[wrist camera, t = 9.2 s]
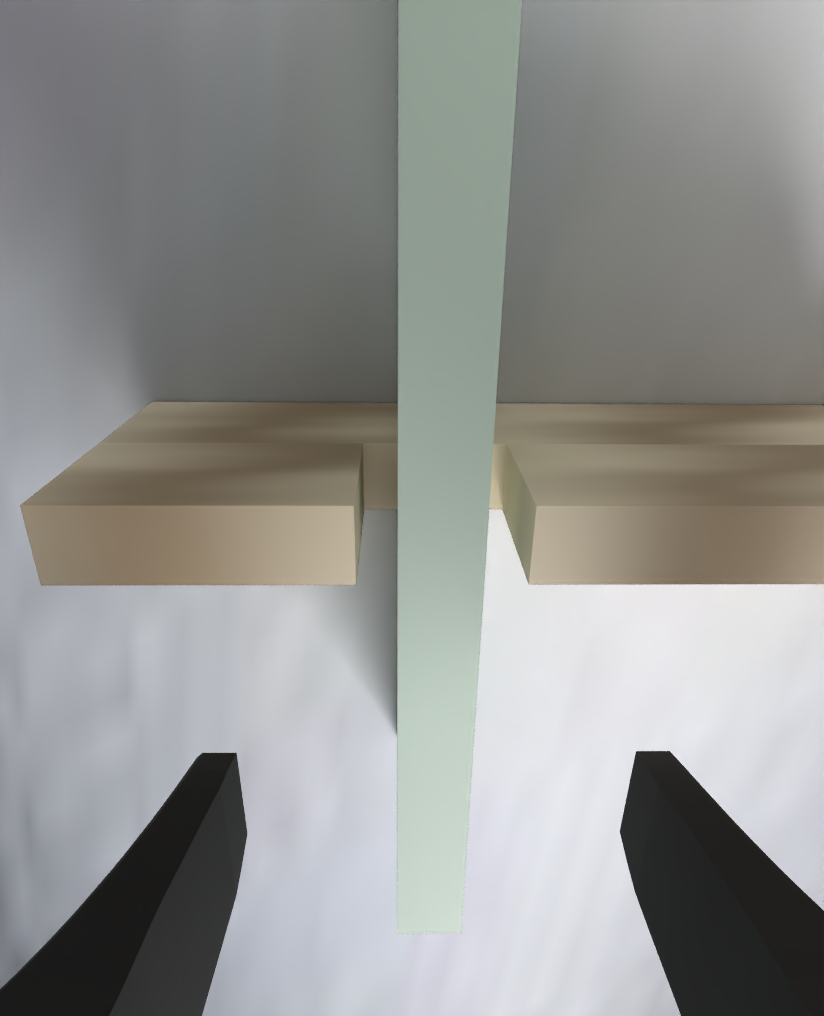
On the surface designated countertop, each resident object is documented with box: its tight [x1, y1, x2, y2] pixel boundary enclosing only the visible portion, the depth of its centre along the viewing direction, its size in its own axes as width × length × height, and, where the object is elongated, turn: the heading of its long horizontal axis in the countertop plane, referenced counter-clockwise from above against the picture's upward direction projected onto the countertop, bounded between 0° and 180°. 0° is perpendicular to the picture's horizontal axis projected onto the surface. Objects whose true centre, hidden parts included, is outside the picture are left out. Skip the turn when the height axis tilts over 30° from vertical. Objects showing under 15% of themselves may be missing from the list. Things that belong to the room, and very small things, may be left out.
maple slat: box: [20, 402, 824, 585], centre depth 11 cm, size 20×1×5 cm, turn 89°
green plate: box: [397, 0, 522, 934], centre depth 11 cm, size 16×1×5 cm, turn 179°
